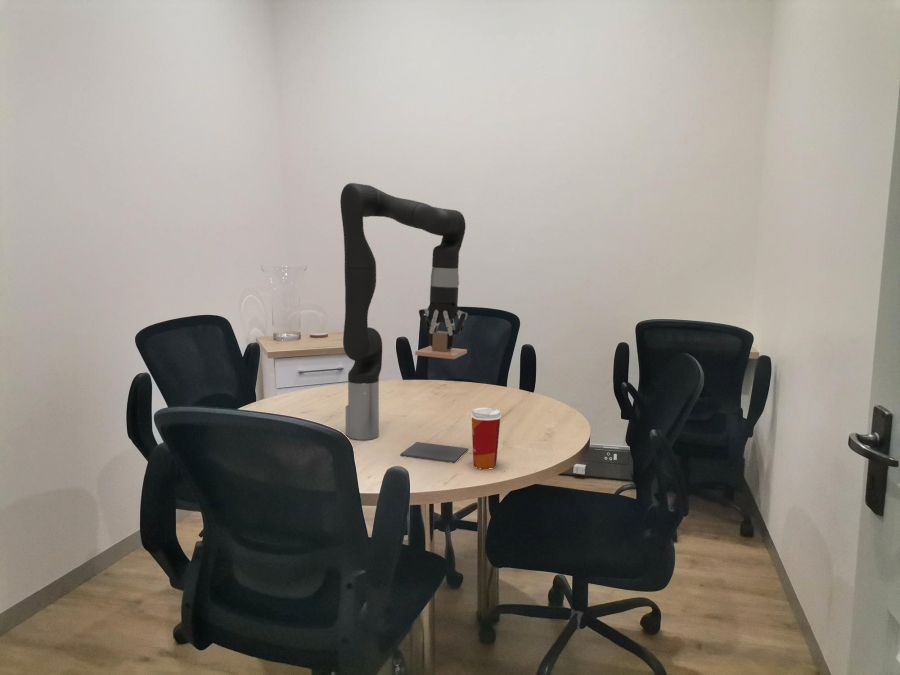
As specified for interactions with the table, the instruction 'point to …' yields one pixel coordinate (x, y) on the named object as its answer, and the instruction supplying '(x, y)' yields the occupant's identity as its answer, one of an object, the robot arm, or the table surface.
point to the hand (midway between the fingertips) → (441, 347)
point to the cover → (441, 347)
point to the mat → (434, 452)
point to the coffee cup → (485, 437)
